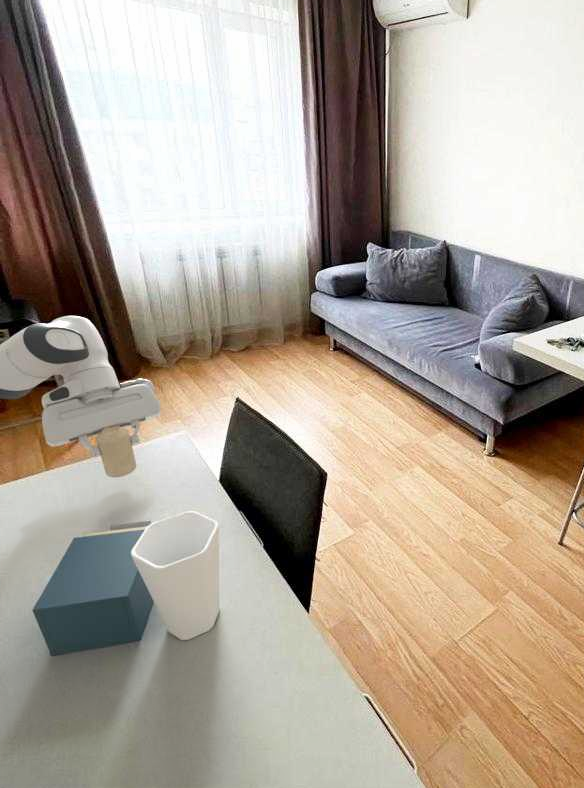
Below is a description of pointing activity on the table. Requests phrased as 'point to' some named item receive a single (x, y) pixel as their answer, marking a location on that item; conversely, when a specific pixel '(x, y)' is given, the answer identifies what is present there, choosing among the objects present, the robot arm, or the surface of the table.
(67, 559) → the blue-grey box
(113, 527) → the tray
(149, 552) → the cup
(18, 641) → the table surface
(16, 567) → the table surface
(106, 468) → the candle
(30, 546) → the table surface
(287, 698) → the table surface
